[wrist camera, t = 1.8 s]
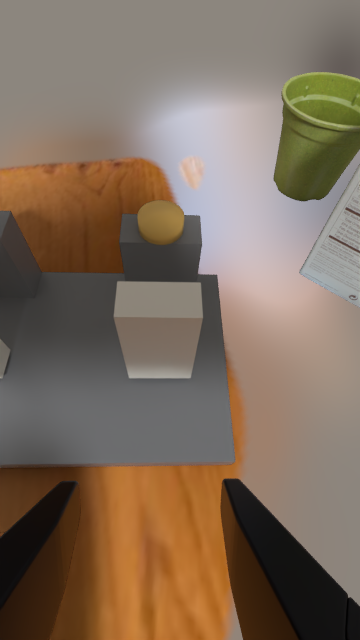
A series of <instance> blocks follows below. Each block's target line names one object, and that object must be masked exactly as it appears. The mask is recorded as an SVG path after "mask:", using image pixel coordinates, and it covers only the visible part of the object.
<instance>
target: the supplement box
mask: <svg viewBox="0 0 360 640" xmlns="http://www.w3.org/2000/svg"><path fill="white" fill-rule="evenodd" d="M299 273H300V274H301V275H303V276H305V277H306V278H308V279H310V280H311V281H313V282H315V283H317V284H319V285H321V286H322V287H324V288H326V289H327V290H329V291H331V292H333V293H335V294H337V295H338V296H340V297H342V298H344V299H345V300H347V301H349V302H351V303H352V304H354V305H356V306H358V307H360V164H359V166H358V168H357V170H356V171H355V173H354V175H353V177H352V179H351V180H350V182H349V184H348V186H347V187H346V189H345V191H344V193H343V194H342V196H341V198H340V200H339V201H338V203H337V205H336V207H335V208H334V210H333V212H332V214H331V215H330V217H329V219H328V221H327V223H326V224H325V226H324V228H323V230H322V232H321V234H320V235H319V237H318V239H317V241H316V243H315V244H314V246H313V248H312V250H311V252H310V254H309V256H308V257H307V259H306V261H305V263H304V264H303V266H302V268H301V270H300V272H299Z"/></svg>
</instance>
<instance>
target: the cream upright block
mask: <svg viewBox="0 0 360 640" xmlns="http://www.w3.org/2000/svg"><path fill="white" fill-rule="evenodd" d="M9 354H10V349H9V348H8V347H7V346H6V344H5V343H4V342H3V341H2V340H1V339H0V378H3V375H4V371H5V368H6V364H7V361H8V357H9Z"/></svg>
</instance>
